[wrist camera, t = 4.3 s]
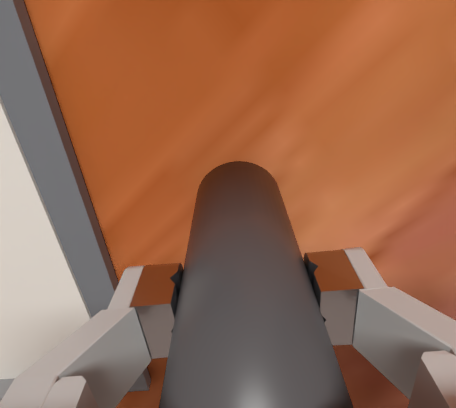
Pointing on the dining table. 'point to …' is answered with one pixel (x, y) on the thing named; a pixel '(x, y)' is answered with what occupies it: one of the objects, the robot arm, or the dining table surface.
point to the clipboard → (42, 213)
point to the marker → (248, 306)
